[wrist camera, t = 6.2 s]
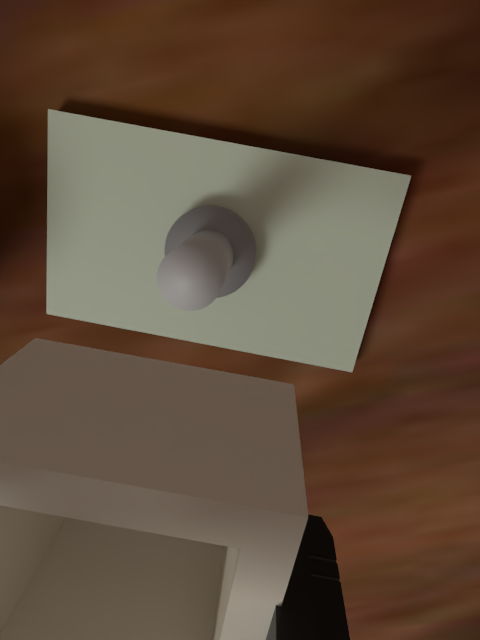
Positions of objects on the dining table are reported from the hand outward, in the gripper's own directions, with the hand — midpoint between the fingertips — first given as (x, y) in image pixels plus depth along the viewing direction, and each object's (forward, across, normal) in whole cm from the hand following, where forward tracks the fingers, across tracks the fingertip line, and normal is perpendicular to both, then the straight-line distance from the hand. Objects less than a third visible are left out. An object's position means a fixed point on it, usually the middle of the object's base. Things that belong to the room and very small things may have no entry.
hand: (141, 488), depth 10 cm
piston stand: (+17, +1, -3) cm, 17 cm away
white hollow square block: (+1, 0, 0) cm, 1 cm away
